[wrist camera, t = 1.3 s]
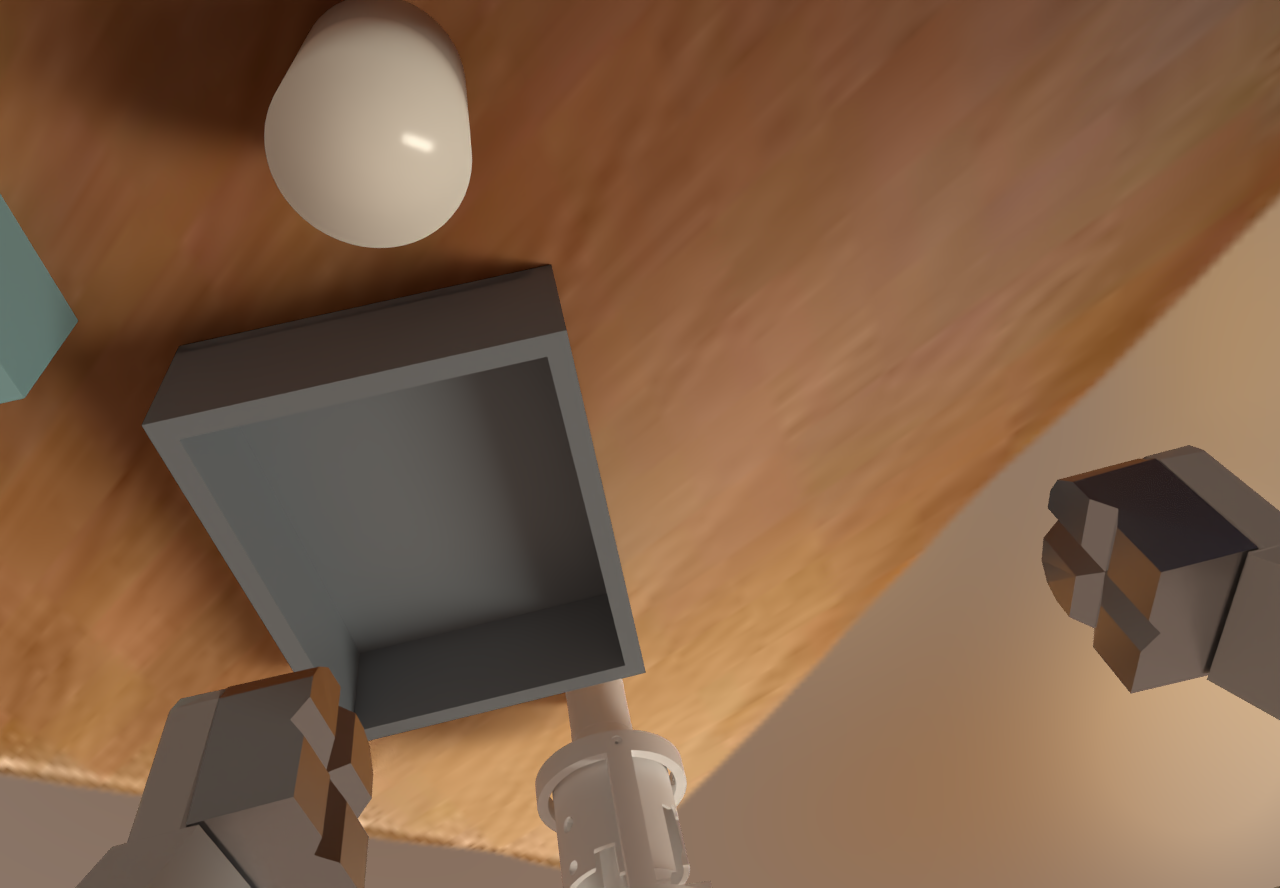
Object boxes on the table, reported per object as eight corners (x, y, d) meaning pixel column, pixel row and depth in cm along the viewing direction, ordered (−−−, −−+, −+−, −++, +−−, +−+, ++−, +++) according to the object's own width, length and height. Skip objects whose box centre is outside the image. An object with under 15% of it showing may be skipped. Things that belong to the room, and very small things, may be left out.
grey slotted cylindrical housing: (652, 720, 49) (719, 1014, 37) (525, 732, 48) (552, 1041, 36) (666, 633, 45) (745, 931, 33) (527, 643, 44) (559, 958, 32)
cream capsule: (274, 13, 26) (229, 71, 21) (440, -21, 26) (440, 28, 21) (334, 176, 29) (309, 265, 24) (483, 144, 29) (493, 225, 24)
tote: (179, 346, 32) (141, 425, 28) (551, 264, 32) (566, 330, 28) (350, 658, 42) (340, 747, 38) (627, 591, 43) (645, 672, 39)
